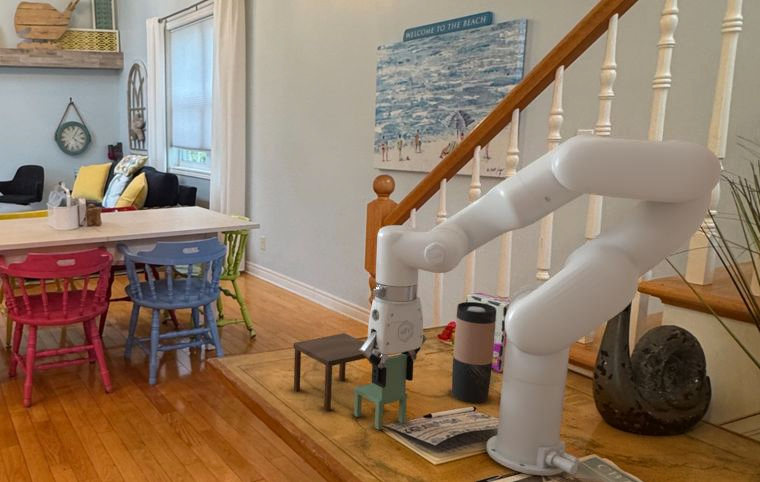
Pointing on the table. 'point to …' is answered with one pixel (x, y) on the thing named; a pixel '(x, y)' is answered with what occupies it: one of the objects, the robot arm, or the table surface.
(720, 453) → the table surface
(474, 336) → the travel mug
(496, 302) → the candy bar box
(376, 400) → the chair
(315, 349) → the side table
